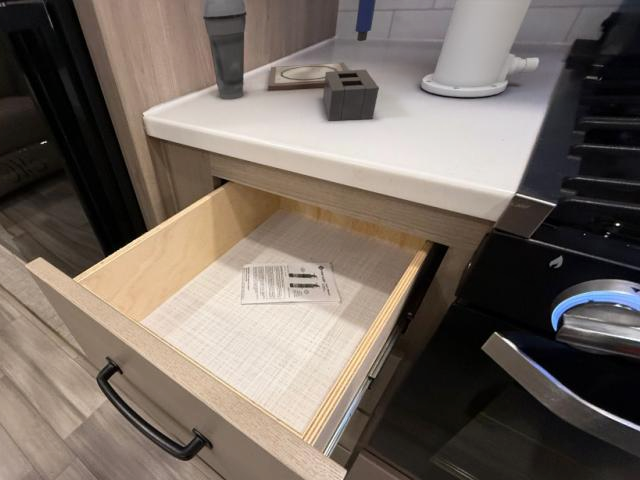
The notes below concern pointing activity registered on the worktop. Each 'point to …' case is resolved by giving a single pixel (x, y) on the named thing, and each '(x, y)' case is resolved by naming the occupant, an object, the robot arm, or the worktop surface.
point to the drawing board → (301, 76)
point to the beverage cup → (227, 44)
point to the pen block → (349, 95)
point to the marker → (364, 18)
